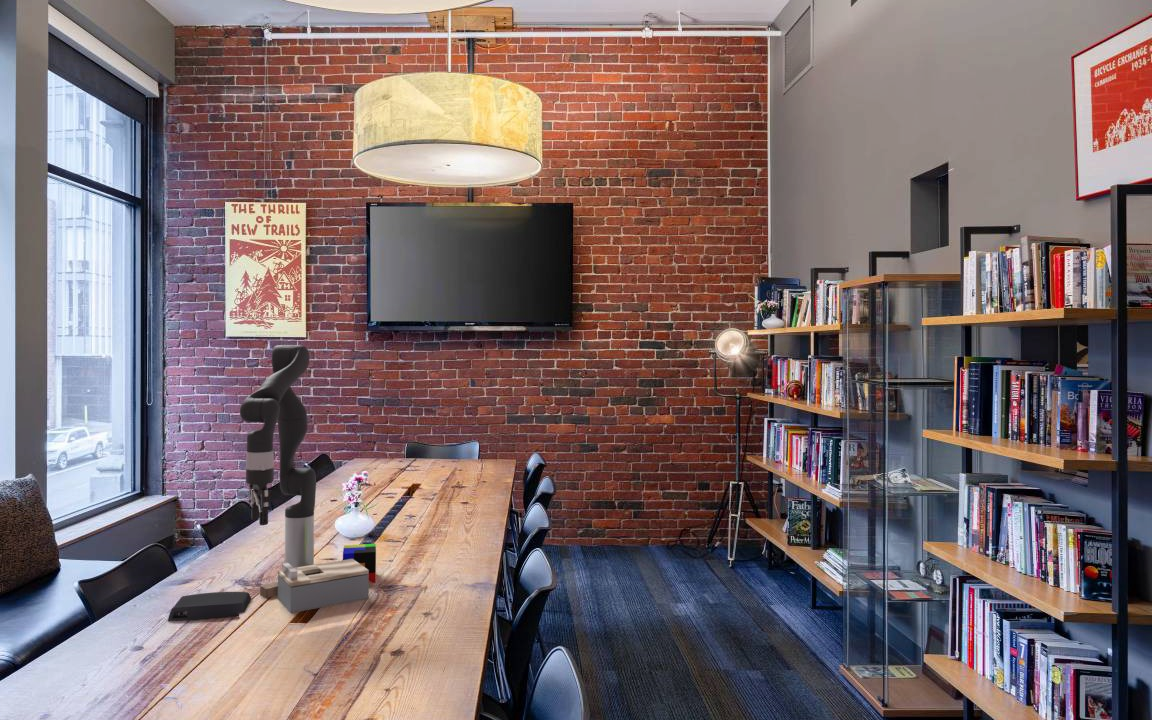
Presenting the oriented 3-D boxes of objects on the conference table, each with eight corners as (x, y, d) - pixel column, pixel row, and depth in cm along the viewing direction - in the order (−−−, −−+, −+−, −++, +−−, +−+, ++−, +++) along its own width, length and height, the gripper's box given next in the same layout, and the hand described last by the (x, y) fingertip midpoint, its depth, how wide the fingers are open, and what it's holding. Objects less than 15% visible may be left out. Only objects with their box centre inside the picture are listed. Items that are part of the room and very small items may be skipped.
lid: (277, 573, 217) (277, 562, 217) (352, 561, 230) (352, 550, 230) (290, 586, 205) (290, 574, 205) (368, 573, 218) (368, 561, 218)
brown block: (260, 585, 220) (308, 575, 231) (259, 599, 220) (308, 587, 231) (265, 588, 217) (314, 578, 228) (265, 602, 217) (314, 590, 228)
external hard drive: (180, 607, 213) (180, 593, 213) (252, 602, 218) (252, 588, 218) (166, 624, 200) (166, 609, 200) (244, 618, 205) (244, 603, 205)
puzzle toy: (342, 585, 233) (342, 553, 233) (343, 576, 243) (343, 545, 242) (375, 583, 236) (375, 551, 235) (375, 573, 245) (375, 543, 245)
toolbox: (277, 602, 217) (277, 574, 217) (352, 588, 230) (352, 562, 230) (290, 616, 206) (290, 587, 205) (368, 601, 218) (368, 574, 218)
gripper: (240, 464, 221) (239, 519, 221) (252, 471, 210) (252, 528, 210) (266, 462, 226) (266, 515, 226) (280, 468, 214) (280, 525, 215)
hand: (259, 521), depth 218 cm, fingers open, 8 cm apart
